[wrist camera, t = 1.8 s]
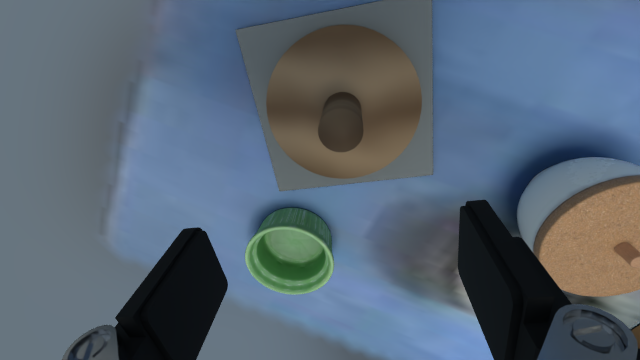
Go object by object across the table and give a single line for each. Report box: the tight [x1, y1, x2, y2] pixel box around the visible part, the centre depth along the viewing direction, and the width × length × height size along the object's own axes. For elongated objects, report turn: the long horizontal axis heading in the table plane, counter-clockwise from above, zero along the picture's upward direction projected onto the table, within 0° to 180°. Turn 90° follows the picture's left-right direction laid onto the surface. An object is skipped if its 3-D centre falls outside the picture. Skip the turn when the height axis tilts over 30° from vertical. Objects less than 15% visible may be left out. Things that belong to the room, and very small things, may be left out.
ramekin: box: [245, 208, 334, 294], centre depth 33 cm, size 9×9×4 cm
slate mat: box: [236, 0, 433, 191], centre depth 27 cm, size 15×15×1 cm
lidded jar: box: [517, 157, 640, 296], centre depth 25 cm, size 11×11×9 cm
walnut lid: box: [266, 25, 422, 179], centre depth 24 cm, size 13×13×6 cm
